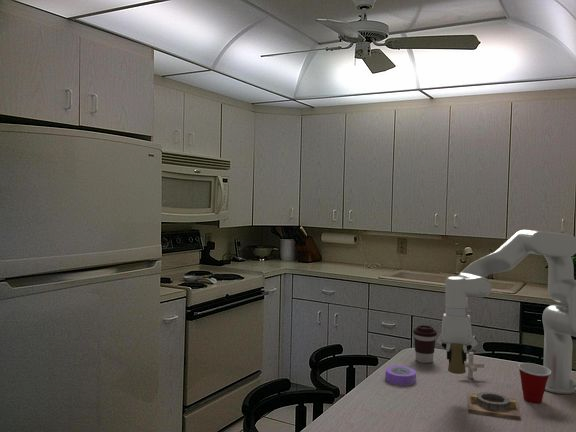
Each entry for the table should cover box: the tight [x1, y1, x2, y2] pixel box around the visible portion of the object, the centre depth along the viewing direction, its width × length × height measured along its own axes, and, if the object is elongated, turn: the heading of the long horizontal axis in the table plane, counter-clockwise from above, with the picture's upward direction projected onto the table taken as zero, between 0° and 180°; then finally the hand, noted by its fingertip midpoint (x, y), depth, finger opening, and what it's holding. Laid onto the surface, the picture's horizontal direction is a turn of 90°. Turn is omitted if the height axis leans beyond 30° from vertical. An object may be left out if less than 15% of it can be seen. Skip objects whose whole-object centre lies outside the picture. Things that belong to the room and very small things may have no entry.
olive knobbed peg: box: [447, 343, 467, 375], centre depth 185 cm, size 6×6×11 cm
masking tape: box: [385, 365, 417, 386], centre depth 203 cm, size 12×12×4 cm
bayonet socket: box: [467, 391, 521, 420], centre depth 178 cm, size 16×16×3 cm
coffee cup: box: [413, 324, 438, 364], centre depth 227 cm, size 10×10×15 cm
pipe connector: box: [464, 351, 485, 379], centre depth 207 cm, size 10×10×10 cm
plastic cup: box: [517, 362, 551, 405], centre depth 184 cm, size 11×11×12 cm
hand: (456, 361), depth 185 cm, fingers closed on olive knobbed peg, 4 cm apart
